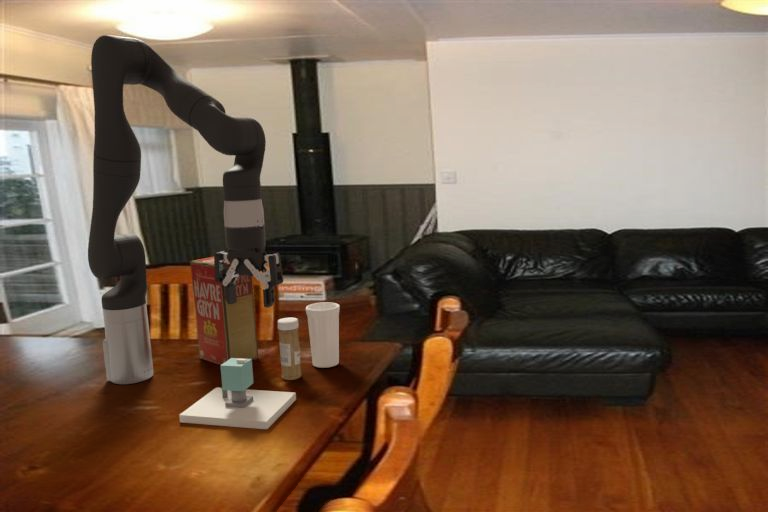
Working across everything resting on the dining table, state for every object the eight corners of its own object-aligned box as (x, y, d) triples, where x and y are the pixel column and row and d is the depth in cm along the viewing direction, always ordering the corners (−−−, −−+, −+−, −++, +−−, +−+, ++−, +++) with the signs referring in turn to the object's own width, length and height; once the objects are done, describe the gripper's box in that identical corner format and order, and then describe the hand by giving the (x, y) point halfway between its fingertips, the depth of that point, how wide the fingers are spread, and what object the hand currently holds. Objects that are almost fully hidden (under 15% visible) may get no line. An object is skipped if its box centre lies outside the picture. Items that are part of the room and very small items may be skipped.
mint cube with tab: (222, 390, 120) (220, 362, 119) (233, 381, 124) (231, 355, 123) (243, 391, 119) (241, 363, 118) (253, 383, 123) (251, 356, 122)
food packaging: (197, 358, 155) (188, 260, 151) (228, 348, 162) (220, 254, 158) (228, 369, 147) (220, 265, 143) (260, 358, 154) (253, 258, 150)
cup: (330, 372, 142) (326, 312, 139) (301, 367, 146) (298, 308, 143) (349, 361, 149) (346, 303, 146) (321, 357, 153) (318, 300, 150)
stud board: (179, 422, 118) (177, 398, 117) (216, 394, 131) (215, 373, 131) (267, 429, 114) (265, 405, 113) (296, 399, 127) (294, 377, 126)
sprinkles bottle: (305, 377, 139) (301, 319, 137) (286, 382, 137) (282, 323, 135) (296, 372, 143) (292, 315, 141) (278, 376, 141) (274, 319, 138)
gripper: (201, 225, 119) (208, 307, 121) (265, 226, 113) (270, 312, 116) (225, 220, 125) (231, 298, 128) (286, 221, 120) (291, 303, 123)
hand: (250, 305), depth 122 cm, fingers open, 8 cm apart
